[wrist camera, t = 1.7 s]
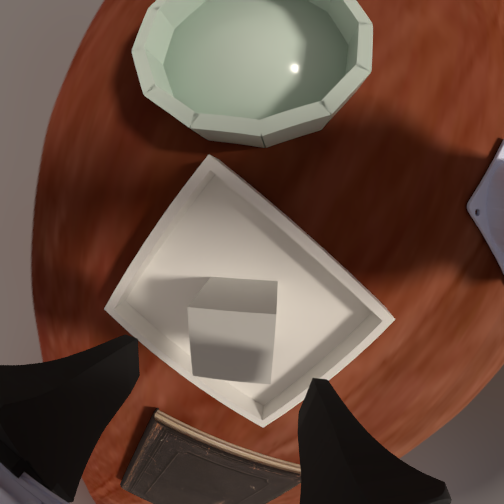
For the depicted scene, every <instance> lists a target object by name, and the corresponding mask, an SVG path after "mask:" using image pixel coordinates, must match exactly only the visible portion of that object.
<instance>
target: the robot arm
mask: <svg viewBox="0 0 504 504" xmlns="http://www.w3.org/2000/svg"><path fill="white" fill-rule="evenodd" d="M467 210H468V212H469V214H470V216H471V217H472V219H473V220H474V222H475V223H476V225H477V227H478V228H479V230H480V231H481V233H482V235H483V236H484V238H485V240H486V242H487V243H488V245H489V247H490V249H491V251H492V252H493V254H494V256H495V258H496V260H497V262H498V264H499V266H500V268H501V270H502V272H503V274H504V140H503V141H502V143H501V145H500V147H499V149H498V151H497V153H496V155H495V157H494V159H493V161H492V163H491V164H490V166H489V168H488V170H487V172H486V173H485V175H484V177H483V179H482V180H481V182H480V184H479V185H478V187H477V189H476V190H475V192H474V193H473V195H472V197H471V198H470V200H469V201H468V203H467ZM476 210H477V214H475V211H476ZM139 376H140V375H139V357H138V339H137V338H134V337H131V336H128V335H123V336H120V337H118V338H115V339H113V340H110V341H108V342H105V343H103V344H101V345H98V346H96V347H93V348H91V349H88V350H86V351H83V352H80V353H77V354H74V355H71V356H68V357H65V358H61V359H57V360H53V361H48V362H43V363H37V364H28V365H16V366H15V365H13V366H12V365H0V504H70V503H69V502H73V501H74V497H75V494H76V491H77V487H78V485H79V481H80V479H81V476H82V474H83V471H84V469H85V467H86V464H87V462H88V460H89V458H90V455H91V453H92V451H93V449H94V447H95V445H96V443H97V441H98V440H99V438H100V436H101V434H102V432H103V431H104V429H105V428H106V426H107V425H108V423H109V422H110V421H111V419H112V418H113V417H114V415H115V414H116V412H117V411H118V410H119V408H120V407H121V406H122V404H123V403H124V401H125V400H126V399H127V397H128V396H129V394H130V393H131V391H132V389H133V387H134V386H135V384H136V382H137V380H138V378H139ZM298 442H299V455H300V467H301V495H300V504H450V503H451V497H450V494H449V492H448V489H447V487H446V484H445V482H443V481H440V480H438V479H436V478H433V477H431V476H429V475H426V474H424V473H422V472H420V471H418V470H416V469H415V468H413V467H411V466H409V465H408V464H406V463H405V462H403V461H402V460H400V459H399V458H397V457H396V456H395V455H393V454H392V453H391V452H389V451H388V450H387V449H386V448H384V447H383V446H382V445H381V444H380V443H379V442H378V441H377V440H375V439H374V438H373V437H372V436H371V435H370V434H369V433H368V432H367V431H366V430H365V428H364V427H363V426H362V425H361V424H360V423H359V422H358V421H357V419H356V418H355V417H354V416H353V414H352V413H351V412H350V411H349V409H348V408H347V407H346V405H345V404H344V403H343V401H342V400H341V398H340V397H339V396H338V394H337V393H336V391H335V390H334V388H333V387H332V386H331V384H330V383H329V381H328V380H327V379H319V378H312V381H311V383H310V386H309V388H308V391H307V393H306V396H305V398H304V401H303V403H302V406H301V408H300V411H299V418H298Z"/></svg>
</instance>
